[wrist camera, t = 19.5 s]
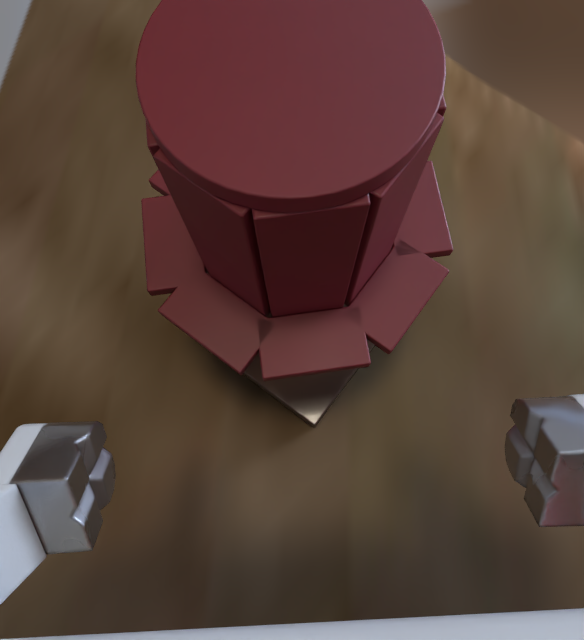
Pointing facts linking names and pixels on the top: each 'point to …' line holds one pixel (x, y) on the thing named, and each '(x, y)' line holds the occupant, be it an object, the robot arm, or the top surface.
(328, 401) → the hat stand
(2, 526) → the robot arm
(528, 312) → the top surface
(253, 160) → the hat
